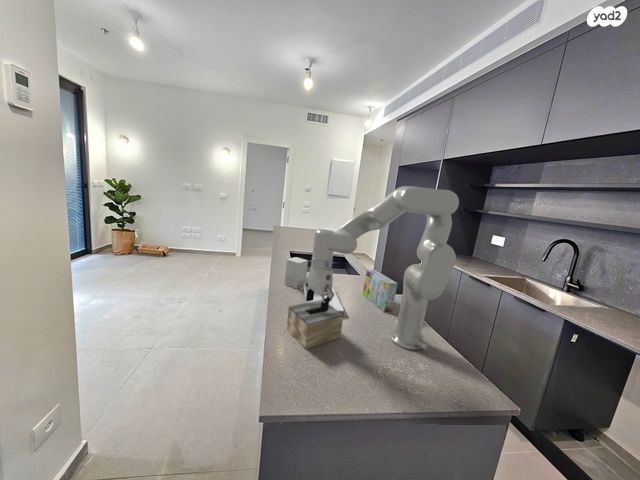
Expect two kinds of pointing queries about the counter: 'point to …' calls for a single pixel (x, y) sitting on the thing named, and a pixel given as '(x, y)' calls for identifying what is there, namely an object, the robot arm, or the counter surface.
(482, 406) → the counter surface
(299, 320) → the box
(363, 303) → the counter surface
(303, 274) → the supplement box
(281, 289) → the counter surface
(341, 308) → the tray
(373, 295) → the snack box
